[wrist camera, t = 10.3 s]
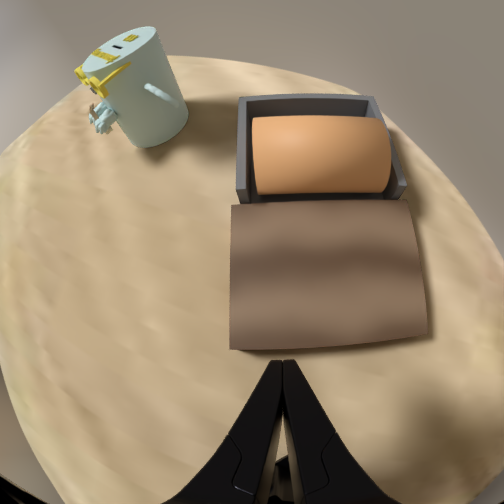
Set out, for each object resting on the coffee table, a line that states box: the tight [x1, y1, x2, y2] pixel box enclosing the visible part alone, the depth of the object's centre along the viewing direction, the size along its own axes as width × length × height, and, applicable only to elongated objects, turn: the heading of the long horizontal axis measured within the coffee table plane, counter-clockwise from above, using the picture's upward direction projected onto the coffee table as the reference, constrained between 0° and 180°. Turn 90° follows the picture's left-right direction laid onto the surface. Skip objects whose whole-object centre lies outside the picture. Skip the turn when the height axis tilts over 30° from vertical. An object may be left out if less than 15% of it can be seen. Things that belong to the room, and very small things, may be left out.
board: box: [230, 200, 428, 350], centre depth 22 cm, size 12×16×2 cm
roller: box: [252, 115, 391, 195], centre depth 23 cm, size 11×7×7 cm, turn 90°
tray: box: [236, 94, 407, 204], centre depth 25 cm, size 12×15×4 cm
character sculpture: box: [75, 27, 189, 148], centre depth 26 cm, size 20×12×13 cm, turn 45°
